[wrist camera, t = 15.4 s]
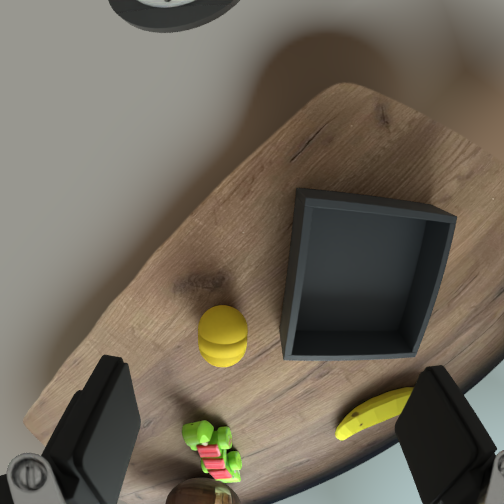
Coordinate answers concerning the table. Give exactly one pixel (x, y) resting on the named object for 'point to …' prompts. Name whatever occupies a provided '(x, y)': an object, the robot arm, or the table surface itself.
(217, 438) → the toy crocodile
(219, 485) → the wooden sphere
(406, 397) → the banana
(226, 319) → the yellow rounded tiered object
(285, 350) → the crate
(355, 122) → the table surface
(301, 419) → the table surface
